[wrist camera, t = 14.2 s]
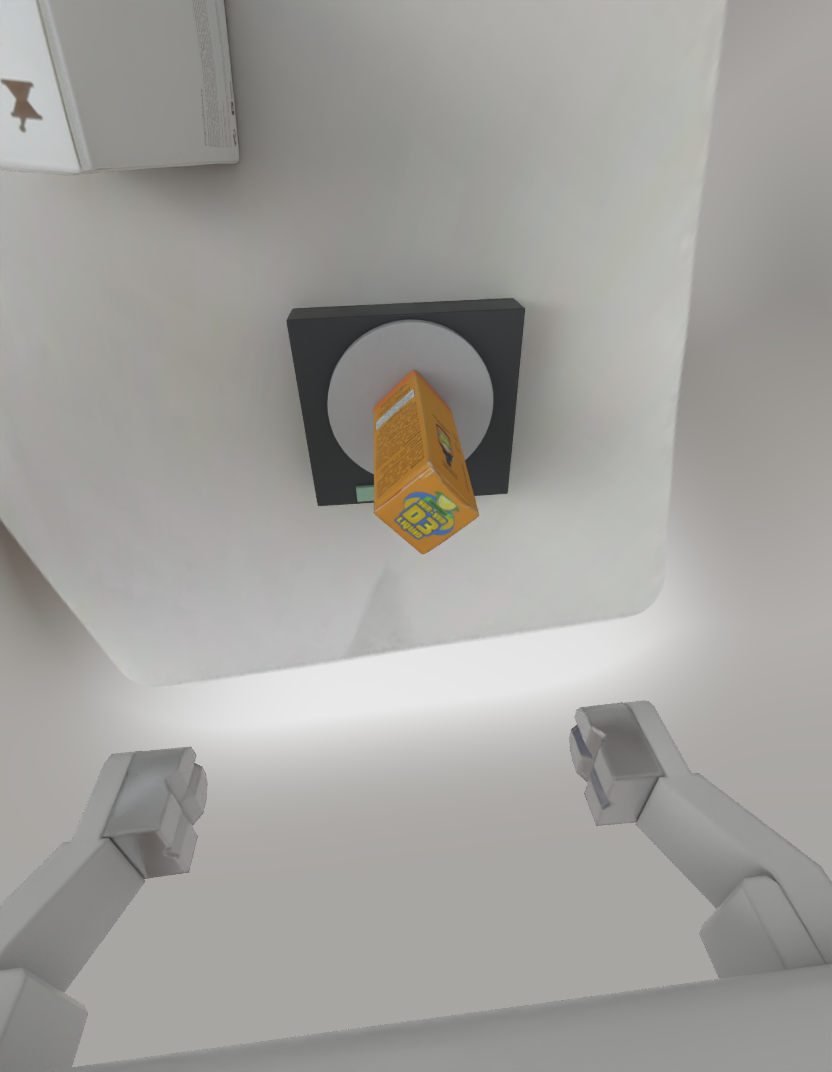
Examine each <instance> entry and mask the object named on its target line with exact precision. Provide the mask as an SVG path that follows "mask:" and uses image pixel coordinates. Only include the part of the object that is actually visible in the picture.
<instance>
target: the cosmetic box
mask: <svg viewBox="0 0 832 1072" xmlns="http://www.w3.org/2000/svg"><path fill="white" fill-rule="evenodd" d="M238 161H239V146H238V135H237V124H236V113H235V102H234V93H233V83H232V74H231V65H230V54H229V44H228V34H227V25H226V16H225V7H224V0H0V170H8V171H20V172H32V173H45V174H60V175H78V174H89V173H98V172H110V171H124V170H137V169H150V168H164V167H178V166H193V165H205V164H235V163H237V162H238Z"/></svg>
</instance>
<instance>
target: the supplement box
mask: <svg viewBox="0 0 832 1072" xmlns="http://www.w3.org/2000/svg"><path fill="white" fill-rule="evenodd" d="M373 413H374V414H373V415H374V420H373V421H374V434H373V436H374V440H373V441H374V514H375V515H376V516H377V517H379V518H380V519H381V520H382V521H383V522H384V523H386V524H387V525H388V526H389V527H391V528H392V529H393V530H394V531H395V532H397V533H398V534H399V535H400V536H401V537H402V538H404V539H405V540H406V541H407V542H408V543H409V544H411V545H412V546H413V547H414V548H416V549H417V550H418V551H419V552H420V553H421V554H425V553H427V552H429V551H430V550H432V549H433V548H435V547H436V546H438V545H440V544H441V543H442V542H444V541H445V540H447V539H448V538H450V537H451V536H452V535H454V534H455V533H457V532H458V531H459V530H461V529H462V528H464V527H465V526H466V525H468V524H469V523H471V522H472V521H473V520H475V519H476V518H477V517H478V516H479V514H478V509H477V505H476V501H475V497H474V494H473V490H472V486H471V482H470V478H469V475H468V471H467V467H466V463H465V459H464V455H463V451H462V448H461V444H460V440H459V436H458V433H457V429H456V425H455V422H454V418H453V415H452V411H451V409H450V408H449V406H448V405H447V404H446V403H445V402H444V401H443V400H442V398H441V397H440V396H439V395H438V394H437V393H436V392H435V391H434V389H433V388H432V387H431V386H430V385H429V384H428V383H427V382H426V381H425V380H424V379H423V377H422V376H421V375H420V374H419V373H418V372H417V371H416V370H412V371H411V372H410V373H409V374H408V375H406V376H405V377H404V378H403V379H402V380H401V381H400V382H399V383H398V384H397V385H396V386H395V387H394V388H393V389H392V390H391V391H390V392H389V393H388V394H387V395H386V396H385V397H384V398H383V399H382V400H380V401H379V402H378V403H377V404H376V405H375V406H374V407H373Z"/></svg>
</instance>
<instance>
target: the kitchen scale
mask: <svg viewBox="0 0 832 1072" xmlns="http://www.w3.org/2000/svg"><path fill="white" fill-rule="evenodd" d="M524 314H525V308H524V307H522V306H521V305H520V304H519V303H518V302H517V301H516V300H515V299H513V298H507V299H486V300H465V301H444V302H423V303H402V304H380V305H359V306H338V307H317V308H296V309H292V311H291V313H290V315H289V317H288V319H287V327H288V332H289V338H290V344H291V350H292V356H293V362H294V368H295V374H296V380H297V386H298V391H299V397H300V403H301V409H302V415H303V421H304V427H305V433H306V439H307V444H308V450H309V456H310V462H311V468H312V474H313V480H314V486H315V492H316V498H317V503H318V506H328V505H343V504H358V503H373V502H374V441H373V440H374V436H373V434H374V421H373V420H374V415H373V414H374V413H373V407H374V406H375V405H376V404H377V403H378V402H379V401H380V400H382V399H383V398H384V397H385V396H386V395H387V394H388V393H389V392H390V391H391V390H392V389H393V388H394V387H395V386H396V385H397V384H398V383H399V382H400V381H401V380H402V379H403V378H404V377H405V376H406V375H408V374H409V373H410V372H411V371H412V370H416V371H417V372H418V373H419V374H420V375H421V376H422V377H423V379H424V380H425V381H426V382H427V383H428V384H429V385H430V386H431V387H432V388H433V389H434V391H435V392H436V393H437V394H438V395H439V396H440V397H441V398H442V400H443V401H444V402H445V403H446V404H447V405H448V406H449V408H450V409H451V411H452V415H453V418H454V422H455V425H456V429H457V433H458V436H459V440H460V444H461V448H462V451H463V455H464V459H465V463H466V467H467V471H468V475H469V478H470V482H471V486H472V490H473V494H474V496H478V495H493V494H507V493H508V484H509V473H510V462H511V452H512V441H513V431H514V420H515V410H516V399H517V388H518V378H519V367H520V357H521V346H522V335H523V325H524Z"/></svg>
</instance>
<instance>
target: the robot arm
mask: <svg viewBox="0 0 832 1072" xmlns="http://www.w3.org/2000/svg"><path fill="white" fill-rule="evenodd" d="M575 719H576V722H577V725H576V726H575V727H574V728H572V729H571V733H570V738H569V742H570V752H571V756H572V761H573V764H574V766H575V769H576V772H577V774H579V775H580V776H581V777H582V778H583V779H584V780H585V781H587V782H588V783H587V786H586V790H585V793H584V794H585V797H586V800H587V802H588V805H589V807H590V810H591V813H592V816H593V818H594V821H595V824H596V826H598V825H611V824H622V823H634V822H637V823H636V825H637V826H638V827H639V828H640V829H641V830H642V832H643V833H644V834H645V835H646V836H647V837H648V838H649V839H650V840H651V841H652V842H653V843H654V844H655V845H656V846H657V847H658V848H659V849H660V850H661V851H662V852H663V853H664V855H665V856H666V857H667V858H668V859H669V860H670V861H671V862H672V863H673V864H674V865H675V866H676V867H677V868H678V869H679V870H680V871H681V872H682V873H683V874H684V875H685V876H686V877H687V878H688V879H689V880H690V881H691V883H692V884H693V885H694V886H695V887H696V888H697V889H698V890H699V891H700V892H701V893H702V894H703V895H704V896H705V897H706V898H707V899H708V900H709V901H710V902H711V903H712V904H713V905H714V907H715V908H716V911H715V912H714V913H713V914H712V915H711V916H710V917H709V918H708V920H707V921H706V922H705V923H704V924H703V925H702V928H701V930H700V933H699V934H700V936H701V939H702V941H703V943H704V945H705V948H706V950H707V952H708V954H709V957H710V959H711V961H712V963H713V966H714V968H715V970H716V973H717V975H718V977H719V979H714V980H707V981H701V982H693V983H686V984H678V985H671V986H663V987H656V988H649V989H641V990H634V991H627V992H619V993H612V994H605V995H598V996H590V997H583V998H576V999H568V1000H561V1001H554V1002H546V1003H539V1004H532V1005H525V1006H517V1007H510V1008H503V1009H495V1010H488V1011H481V1012H473V1013H466V1014H459V1015H451V1016H444V1017H437V1018H430V1019H422V1020H415V1021H407V1022H400V1023H393V1024H386V1025H378V1026H371V1027H363V1028H357V1029H349V1030H342V1031H334V1032H327V1033H320V1034H312V1035H306V1036H298V1037H290V1038H283V1039H276V1040H269V1041H261V1042H254V1043H246V1044H239V1045H232V1046H224V1047H217V1048H210V1049H203V1050H195V1051H188V1052H181V1053H173V1054H166V1055H159V1056H151V1057H144V1058H137V1059H129V1060H122V1061H115V1062H108V1063H101V1064H93V1065H86V1066H78V1067H72V1065H73V1061H74V1058H75V1055H76V1052H77V1048H78V1045H79V1042H80V1038H81V1035H82V1032H83V1029H84V1025H85V1022H86V1018H87V1016H88V1012H87V1010H86V1008H85V1006H84V1005H83V1004H81V1003H79V1002H78V1001H76V1000H75V999H73V998H71V997H70V996H68V995H67V994H65V993H64V992H65V991H66V990H67V988H68V987H69V986H70V984H71V983H72V981H73V980H74V979H75V977H76V976H77V975H78V973H79V972H80V970H81V969H82V968H83V966H84V965H85V964H86V962H87V961H88V959H89V958H90V957H91V955H92V954H93V953H94V951H95V950H96V948H97V947H98V946H99V944H100V943H101V942H102V940H103V939H104V938H105V936H106V935H107V933H108V932H109V931H110V929H111V928H112V927H113V925H114V924H115V922H116V921H117V920H118V918H119V917H120V915H121V914H122V913H123V911H124V910H125V909H126V907H127V906H128V905H129V903H130V902H131V901H132V899H133V898H134V896H135V895H136V894H137V892H138V891H139V890H140V888H141V887H142V885H143V884H144V883H145V880H144V879H147V878H153V877H161V876H168V875H175V874H182V873H189V871H190V866H191V862H192V858H193V854H194V850H195V846H196V841H197V837H198V836H197V834H196V832H195V830H194V827H193V825H194V823H195V822H196V821H197V820H198V819H199V818H200V816H201V815H202V814H203V812H204V808H205V803H206V798H207V779H206V773H205V772H204V769H203V767H202V766H200V765H197V764H196V763H194V762H195V758H196V754H195V752H194V750H193V749H192V747H181V748H171V749H161V750H150V751H135V752H126V753H117V754H112V755H111V756H110V757H109V758H108V760H107V761H106V762H105V764H104V766H103V768H102V770H101V772H100V775H99V777H98V780H97V782H96V784H95V786H94V789H93V791H92V794H91V796H90V798H89V801H88V803H87V805H86V807H85V810H84V812H83V814H82V817H81V819H80V821H79V824H78V826H77V828H76V831H75V833H74V835H73V838H72V840H71V842H64V843H62V844H61V845H60V846H59V847H58V848H57V849H56V850H55V851H54V852H53V853H52V854H51V855H50V856H49V857H48V858H47V859H46V860H45V861H44V862H43V863H42V864H41V865H40V866H39V867H38V868H37V869H36V870H35V871H34V872H33V873H32V874H31V875H30V876H29V877H28V878H27V879H26V880H25V881H24V882H23V883H22V884H21V885H20V886H19V887H18V888H17V889H16V890H15V891H14V892H13V893H12V894H11V895H10V896H9V897H8V898H7V899H6V900H5V901H4V902H3V903H2V904H1V905H0V1072H832V882H831V881H830V879H829V877H828V876H827V874H826V873H825V872H824V870H823V868H822V867H821V866H820V865H819V864H817V863H816V862H815V861H813V860H812V859H811V858H809V857H808V856H807V855H805V854H804V853H803V852H801V851H800V850H799V849H798V848H796V847H795V846H793V845H792V844H791V843H790V842H788V841H787V840H786V839H784V838H783V837H782V836H780V835H779V834H778V833H777V832H775V831H774V830H773V829H771V828H770V827H769V826H767V825H766V824H765V823H763V822H762V821H761V820H759V819H758V818H757V817H756V816H754V815H753V814H752V813H750V812H749V811H748V810H746V809H745V808H744V807H742V806H741V805H740V804H739V803H737V802H736V801H734V800H733V799H732V798H731V797H729V796H728V795H727V794H725V793H724V792H723V791H722V790H720V789H719V788H718V787H716V786H715V785H714V784H712V783H711V782H710V781H708V780H707V779H706V778H704V777H703V776H702V775H700V774H699V773H694V774H692V773H691V771H690V770H689V768H688V766H687V764H686V762H685V761H684V759H683V757H682V755H681V753H680V752H679V750H678V748H677V746H676V745H675V743H674V741H673V739H672V738H671V736H670V734H669V732H668V730H667V729H666V727H665V725H664V723H663V722H662V720H661V718H660V716H659V714H658V713H657V711H656V709H655V707H654V706H653V705H652V704H651V703H650V702H649V701H636V702H627V703H614V704H605V705H597V706H589V707H580V708H579V709H578V710H577V711H576V714H575Z"/></svg>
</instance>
